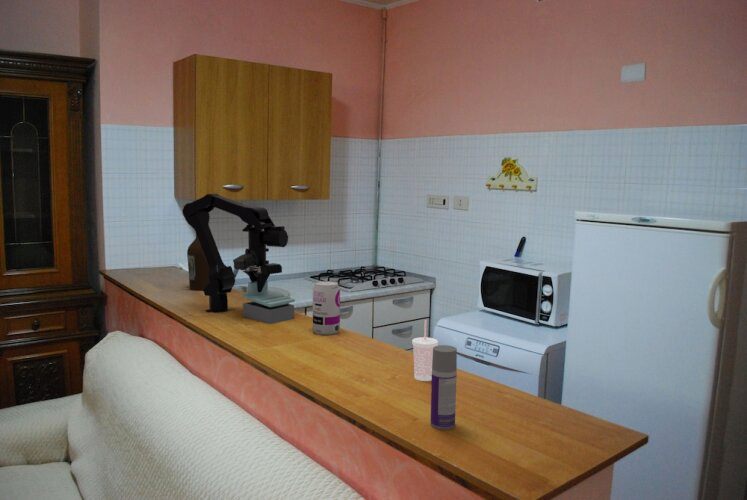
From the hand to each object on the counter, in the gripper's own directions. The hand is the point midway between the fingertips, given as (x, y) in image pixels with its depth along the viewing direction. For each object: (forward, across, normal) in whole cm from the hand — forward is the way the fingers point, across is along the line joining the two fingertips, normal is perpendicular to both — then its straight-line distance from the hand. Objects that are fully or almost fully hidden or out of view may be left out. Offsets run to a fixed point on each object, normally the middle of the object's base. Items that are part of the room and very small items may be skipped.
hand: (257, 291), depth 193 cm
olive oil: (+9, -56, +14) cm, 58 cm away
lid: (+2, +5, 0) cm, 6 cm away
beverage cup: (+9, +76, -11) cm, 78 cm away
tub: (+8, +6, 0) cm, 10 cm away
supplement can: (+9, +30, +2) cm, 32 cm away
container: (+9, +94, -30) cm, 100 cm away
